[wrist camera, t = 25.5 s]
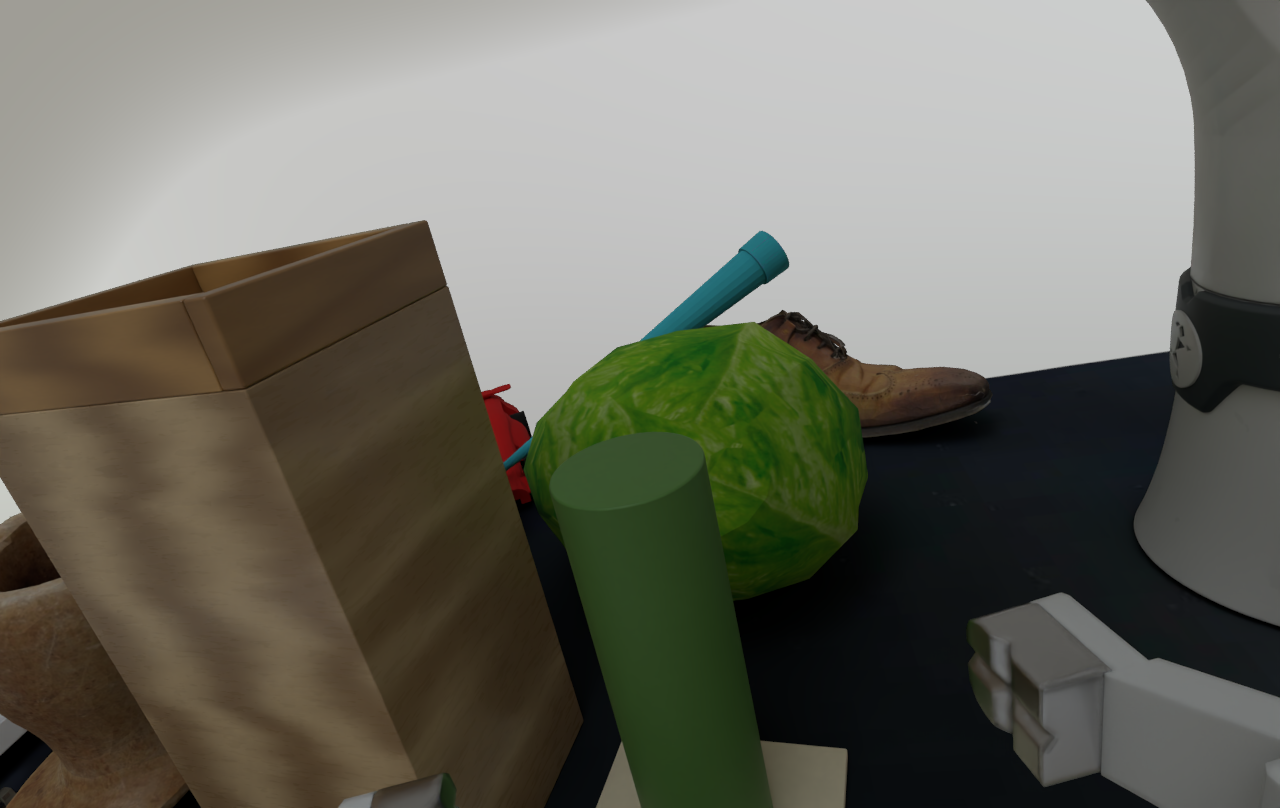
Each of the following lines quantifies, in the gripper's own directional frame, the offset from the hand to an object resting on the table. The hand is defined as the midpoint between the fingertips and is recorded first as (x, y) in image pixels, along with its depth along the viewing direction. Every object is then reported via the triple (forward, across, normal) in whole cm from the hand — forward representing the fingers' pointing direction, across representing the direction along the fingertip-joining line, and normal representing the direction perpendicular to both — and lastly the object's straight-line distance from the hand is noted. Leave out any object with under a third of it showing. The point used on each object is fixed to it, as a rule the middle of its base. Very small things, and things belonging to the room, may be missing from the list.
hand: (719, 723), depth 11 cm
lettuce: (+28, -4, +18) cm, 34 cm away
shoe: (+45, -18, +18) cm, 52 cm away
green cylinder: (+12, 0, +17) cm, 21 cm away
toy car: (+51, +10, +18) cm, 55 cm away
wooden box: (+18, +13, +18) cm, 28 cm away
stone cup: (+26, +27, +18) cm, 41 cm away
